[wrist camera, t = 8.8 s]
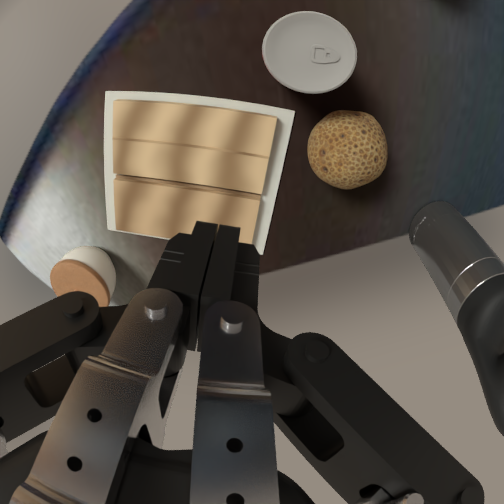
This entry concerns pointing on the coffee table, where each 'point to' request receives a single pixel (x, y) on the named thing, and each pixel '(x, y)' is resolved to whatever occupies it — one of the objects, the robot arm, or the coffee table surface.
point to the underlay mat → (266, 199)
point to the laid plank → (180, 207)
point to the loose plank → (192, 143)
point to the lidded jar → (85, 274)
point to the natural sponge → (347, 149)
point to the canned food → (309, 52)
